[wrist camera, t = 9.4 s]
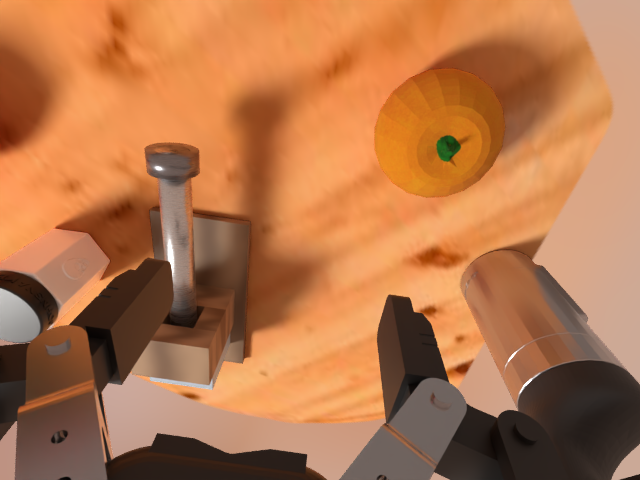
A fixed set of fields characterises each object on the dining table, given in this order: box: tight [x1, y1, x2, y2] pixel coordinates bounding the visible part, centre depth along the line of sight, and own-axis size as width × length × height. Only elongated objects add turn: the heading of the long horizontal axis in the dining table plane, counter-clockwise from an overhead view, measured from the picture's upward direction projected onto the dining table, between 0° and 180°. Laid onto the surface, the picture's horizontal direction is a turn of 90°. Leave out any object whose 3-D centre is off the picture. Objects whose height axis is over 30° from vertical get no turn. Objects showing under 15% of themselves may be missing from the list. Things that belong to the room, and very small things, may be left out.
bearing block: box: [131, 207, 251, 385], centre depth 44 cm, size 12×24×12 cm, turn 172°
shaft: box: [145, 143, 200, 328], centre depth 38 cm, size 24×5×5 cm, turn 172°
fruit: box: [375, 68, 505, 198], centre depth 33 cm, size 12×12×10 cm
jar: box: [0, 228, 110, 343], centre depth 42 cm, size 9×8×12 cm
